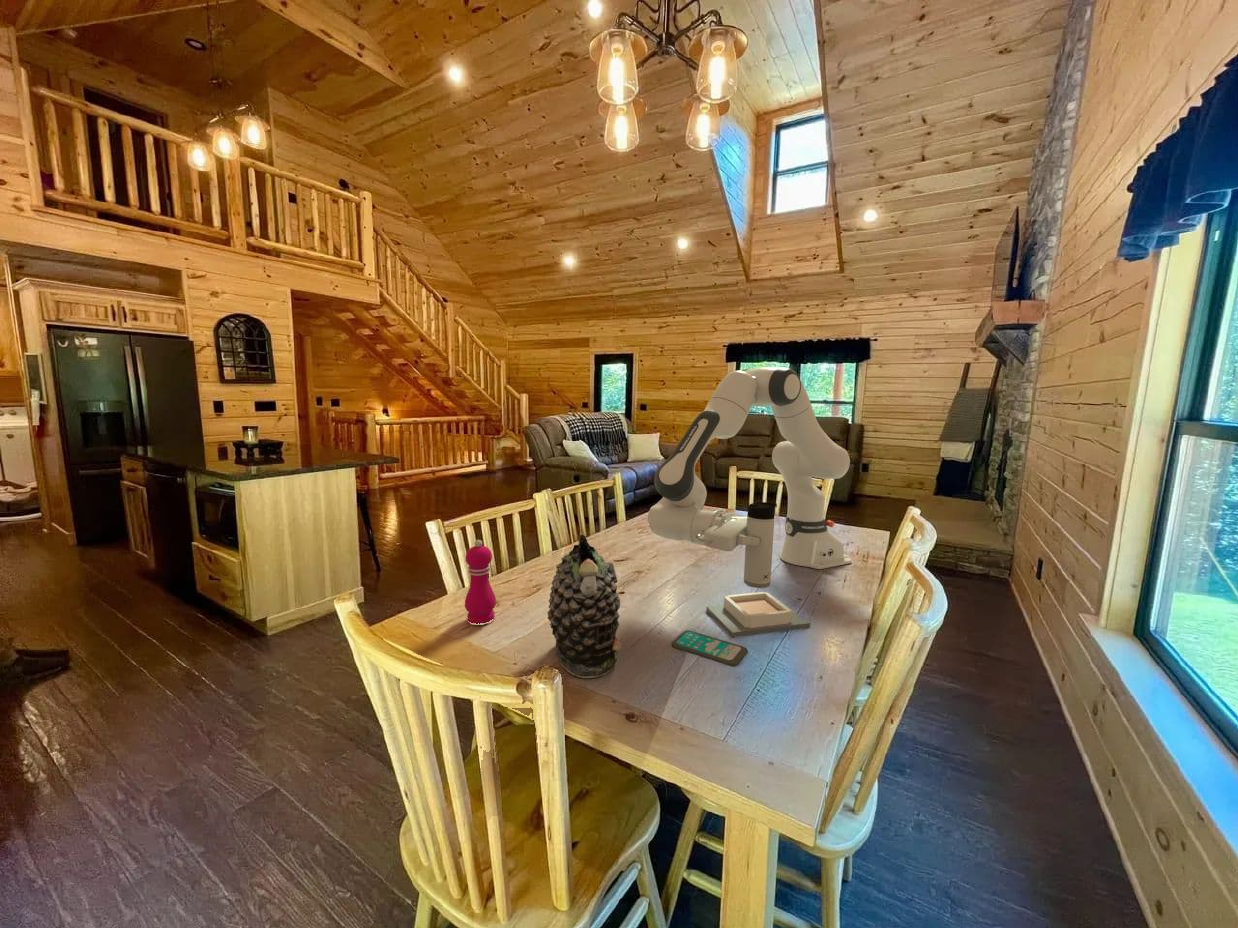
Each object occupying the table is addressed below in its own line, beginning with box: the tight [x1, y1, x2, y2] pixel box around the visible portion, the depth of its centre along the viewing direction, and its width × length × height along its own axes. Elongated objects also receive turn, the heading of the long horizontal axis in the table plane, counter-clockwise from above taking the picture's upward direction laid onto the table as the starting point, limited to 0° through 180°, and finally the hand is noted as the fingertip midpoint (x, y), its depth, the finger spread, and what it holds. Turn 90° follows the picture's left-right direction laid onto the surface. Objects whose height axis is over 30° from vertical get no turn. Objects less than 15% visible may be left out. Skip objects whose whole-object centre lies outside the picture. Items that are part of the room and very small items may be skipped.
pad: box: [735, 599, 778, 615], centre depth 120 cm, size 9×9×2 cm
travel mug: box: [743, 501, 778, 589], centre depth 118 cm, size 6×7×20 cm
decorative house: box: [547, 534, 622, 679], centre depth 102 cm, size 21×15×25 cm
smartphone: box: [671, 630, 749, 667], centre depth 107 cm, size 9×1×15 cm
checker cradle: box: [705, 591, 811, 639], centre depth 120 cm, size 20×14×4 cm
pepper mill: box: [464, 539, 497, 624], centre depth 117 cm, size 7×7×20 cm
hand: (764, 537), depth 117 cm, fingers closed on travel mug, 6 cm apart
